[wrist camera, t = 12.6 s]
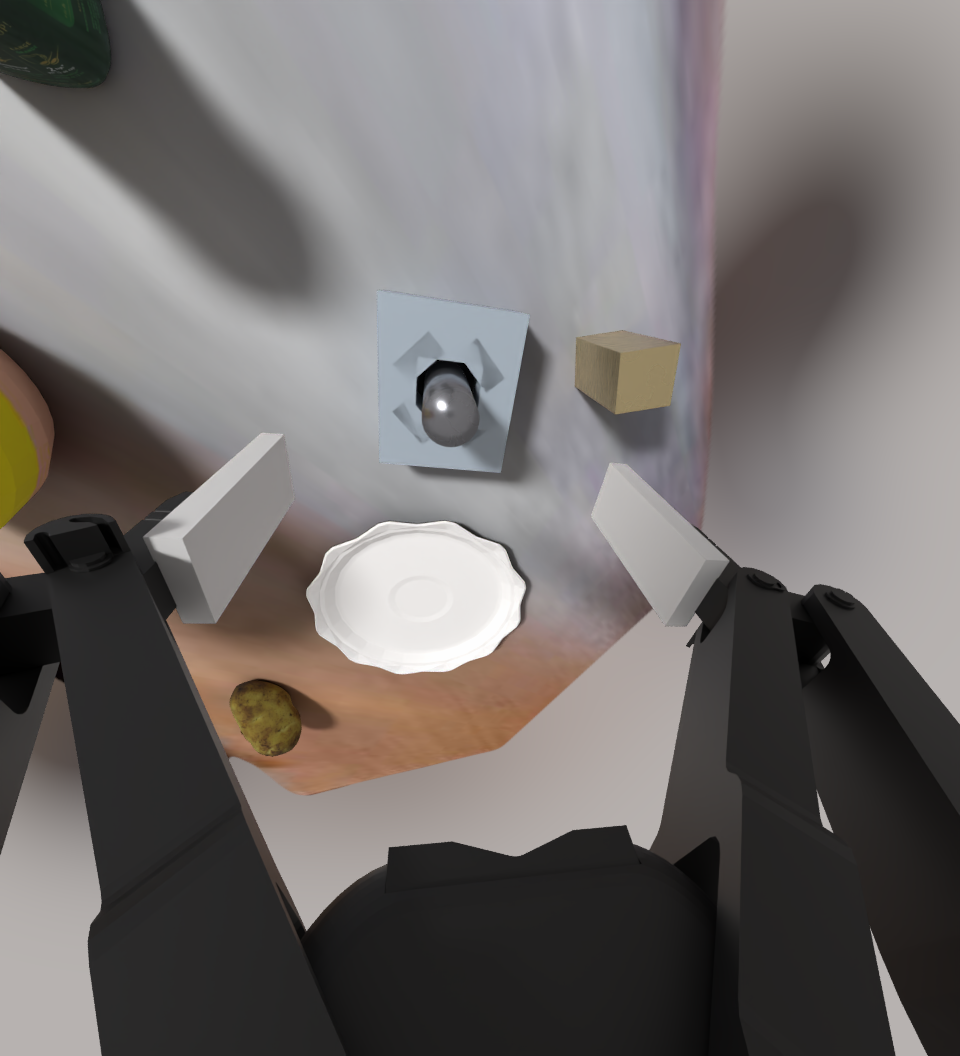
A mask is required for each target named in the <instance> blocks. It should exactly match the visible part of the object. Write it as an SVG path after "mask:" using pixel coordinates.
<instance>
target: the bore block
mask: <svg viewBox="0 0 960 1056" xmlns="http://www.w3.org/2000/svg"><path fill="white" fill-rule="evenodd" d="M529 317H530V315H529V314H525V313H522V312H518V311H513V310H506V309H500V308H494V307H488V306H481V305H475V304H469V303H463V302H456V301H450V300H444V299H438V298H432V297H425V296H419V295H413V294H407V293H400V292H394V291H388V290H377V338H378V406H379V463H387V464H399V465H411V466H423V467H436V468H448V469H460V470H472V471H484V472H496V473H501V469H502V463H503V458H504V452H505V447H506V442H507V436H508V431H509V425H510V420H511V414H512V409H513V404H514V398H515V393H516V387H517V382H518V377H519V371H520V366H521V360H522V355H523V349H524V344H525V339H526V333H527V328H528V322H529ZM437 359H439V360H446V361H454V362H461V363H465V364H466V365H467V367H468V368H469V370H470V371H471V372H472V374H473V375H474V377H475V381H474V389H473V397H474V400H475V403H476V405H477V408H478V411H479V418H480V419H479V426H478V429H477V431H476V433H475V435H474V436H473V437H472V439H471V440H469V441H468V442H467V443H465V444H463V445H461V446H457V447H444V446H441V445H439V444H437V443H435V442H433V441H432V440H431V439H430V438H429V437H428V436H427V434H426V433H425V431H424V428H423V425H422V405H423V398H422V396H421V395H420V394H419V393H418V392H417V390H418V376H419V375H420V374H421V373H422V372H423V371H425V370H426V369H427V368H428V367H429V366H430V365H431V364H432V363H434V362H435V361H436V360H437Z"/></svg>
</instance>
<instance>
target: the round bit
mask: <svg viewBox="0 0 960 1056" xmlns="http://www.w3.org/2000/svg"><path fill="white" fill-rule="evenodd" d="M479 419H480V418H479V411H478V408H477V405H476V403H475V400H474V397H473V395H472V392H471V389H470V387H469V384H468V381H467V378H466V376H465V373H464V371H463V370H462V368H461V367H460V366H459V365H457V364H456V363H454V362H452V361H446V360H442V361H438V362H436V363H434V364H433V365H432V366H431V367H430V368H429V369H428V371H427V373H426V375H425V382H424V394H423V405H422V425H423V428H424V431H425V433H426V434H427V436H428V437H429V438H430V439H431V440H432V441H433V442H435V443H437V444H439V445H441V446H444V447H457V446H461V445H463V444H465V443H467V442H468V441H469V440H471V439H472V437H473V436H474V435H475V433H476V431H477V429H478V426H479Z"/></svg>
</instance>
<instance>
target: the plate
mask: <svg viewBox="0 0 960 1056" xmlns="http://www.w3.org/2000/svg"><path fill="white" fill-rule="evenodd" d="M525 590H526V585H525V581H524V580H523V579H522V578H521V576H520V575H519V574H518V573H517V572H516V571H515V569H514V568H513V567H512V565H511V562H510V559H509V557H508V554H507V552H506V549H505V548H504V547H503V546H501V545H500V544H499V543H496V542H493V541H490V540H487V539H484V538H481V537H478V536H475V535H474V534H472V533H471V532H469V531H468V530H466V529H465V528H463V527H462V526H460V525H459V524H457V523H455V522H451V521H447V520H442V521H433V522H425V523H407V522H398V521H385V522H381V523H378V524H376V525H375V526H373V527H372V528H370V529H369V530H368V531H366V532H365V533H363V534H362V535H360V536H359V537H357V538H355V539H352V540H349V541H346V542H344V543H341V544H338V545H335V546H333V547H331V548H330V549H329V550H328V551H327V552H326V554H325V557H324V560H323V563H322V566H321V570H320V573H319V574H318V575H317V576H316V578H315V579H314V580H313V581H312V583H311V584H310V585H309V586H308V588H307V592H306V597H307V599H308V601H309V603H310V605H311V607H312V609H313V611H314V613H315V626H316V631H317V632H318V634H319V635H320V636H321V637H323V638H324V639H326V640H327V641H329V642H331V643H332V644H334V645H335V646H337V647H338V648H339V649H340V650H341V651H342V652H343V653H344V654H345V655H346V656H347V658H348V659H349V660H351V661H353V662H356V663H360V664H365V665H371V666H376V667H379V668H382V669H385V670H387V671H390V672H393V673H395V674H409V673H416V672H423V671H428V672H445V671H450V670H453V669H455V668H457V667H459V666H460V665H462V664H464V663H466V662H468V661H471V660H474V659H478V658H481V657H484V656H487V655H489V654H490V653H492V652H493V651H494V650H495V648H496V647H497V646H498V644H499V643H500V642H501V640H502V639H503V638H504V637H505V636H506V635H508V634H509V633H510V632H511V631H512V630H514V629H515V628H516V627H517V626H518V624H519V623H520V621H521V619H520V605H521V602H522V599H523V596H524V593H525Z"/></svg>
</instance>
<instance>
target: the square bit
mask: <svg viewBox="0 0 960 1056" xmlns="http://www.w3.org/2000/svg"><path fill="white" fill-rule="evenodd" d="M680 346H681V344H680V343H676V342H672V341H667V340H663V339H658V338H654V337H650V336H645V335H641V334H636V333H632V332H627V331H623V330H622V331H615V332H609V333H602V334H596V335H589V336H583V337H576V368H575V387H576V388H578V389H579V390H581V391H582V392H584V393H585V394H586V395H588V396H589V397H591V398H592V399H594V400H595V401H597V402H598V403H599V404H601V405H602V406H604V407H605V408H607V409H608V410H609V411H611V412H612V413H614V414H621V413H627V412H634V411H640V410H646V409H653V408H659V407H665V406H670V403H671V397H672V392H673V386H674V380H675V374H676V369H677V363H678V357H679V352H680Z"/></svg>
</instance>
